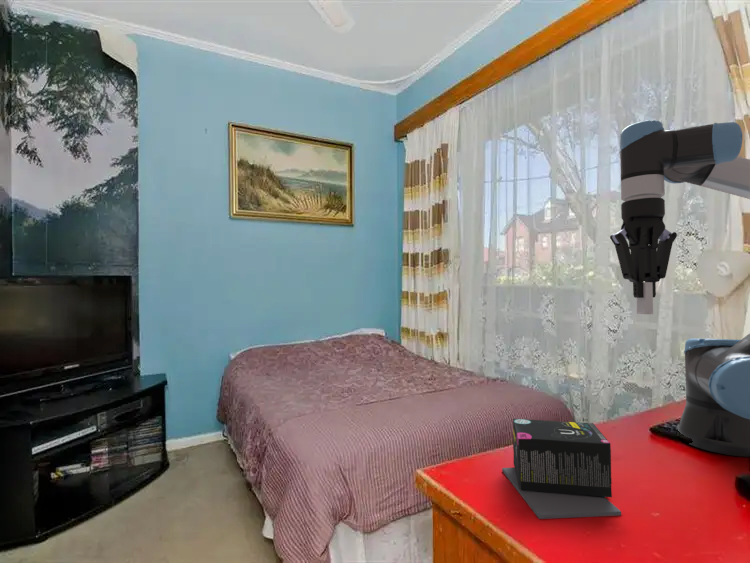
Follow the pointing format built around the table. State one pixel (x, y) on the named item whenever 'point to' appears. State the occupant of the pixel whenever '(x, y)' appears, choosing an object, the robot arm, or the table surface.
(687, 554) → the table surface
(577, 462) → the tampon box
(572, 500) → the felt pad
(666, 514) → the table surface
